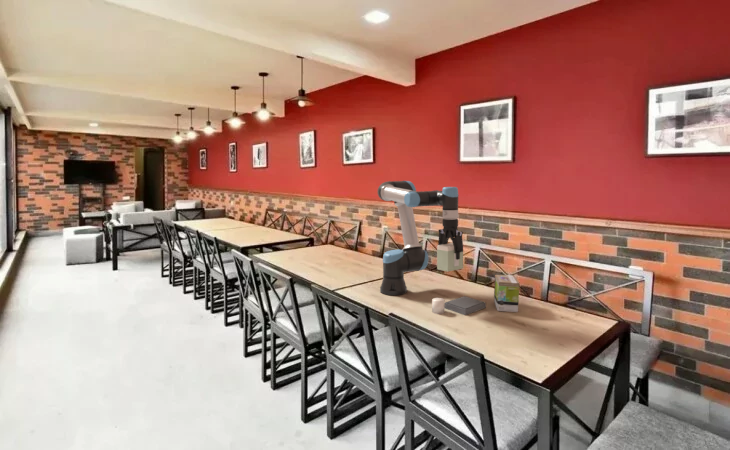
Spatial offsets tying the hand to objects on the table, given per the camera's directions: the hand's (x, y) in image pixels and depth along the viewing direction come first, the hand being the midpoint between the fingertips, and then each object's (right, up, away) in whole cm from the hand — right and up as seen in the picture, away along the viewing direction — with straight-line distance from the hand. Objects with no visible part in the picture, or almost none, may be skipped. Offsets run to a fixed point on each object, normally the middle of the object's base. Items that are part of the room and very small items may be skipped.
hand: (450, 264), depth 196 cm
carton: (0, -2, 0) cm, 2 cm away
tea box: (+28, -22, +3) cm, 36 cm away
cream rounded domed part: (-7, -23, -3) cm, 24 cm away
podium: (+8, -22, +2) cm, 23 cm away
